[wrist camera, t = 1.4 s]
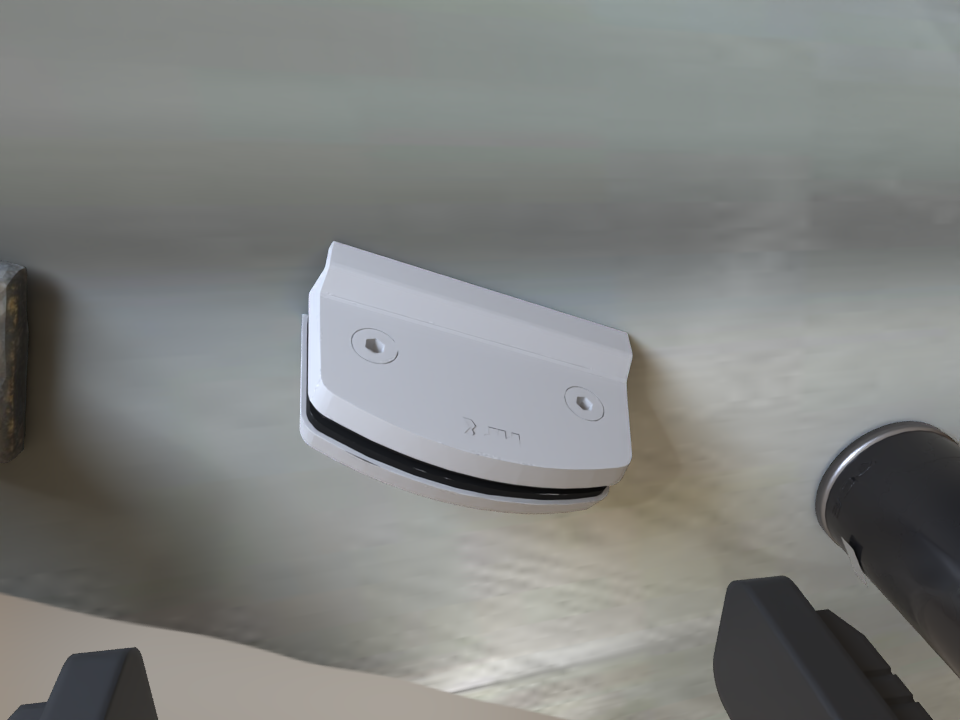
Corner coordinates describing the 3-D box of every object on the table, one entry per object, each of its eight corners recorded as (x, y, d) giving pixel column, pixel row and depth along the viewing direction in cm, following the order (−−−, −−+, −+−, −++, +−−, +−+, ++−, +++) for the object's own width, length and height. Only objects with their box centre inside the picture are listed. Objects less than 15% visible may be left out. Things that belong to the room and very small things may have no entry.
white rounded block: (633, 334, 39) (674, 489, 32) (590, 392, 42) (619, 545, 35) (324, 238, 35) (292, 394, 27) (300, 310, 38) (265, 468, 30)
